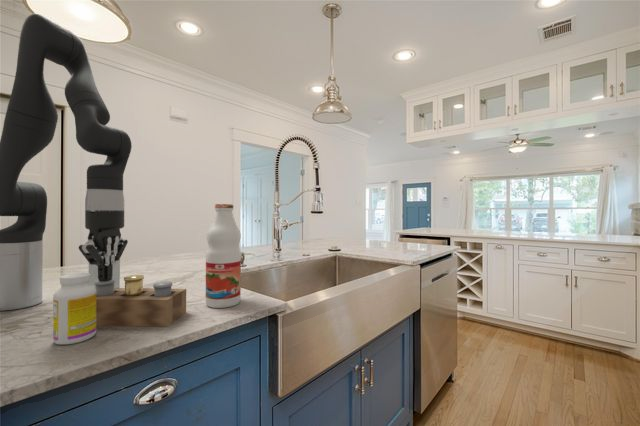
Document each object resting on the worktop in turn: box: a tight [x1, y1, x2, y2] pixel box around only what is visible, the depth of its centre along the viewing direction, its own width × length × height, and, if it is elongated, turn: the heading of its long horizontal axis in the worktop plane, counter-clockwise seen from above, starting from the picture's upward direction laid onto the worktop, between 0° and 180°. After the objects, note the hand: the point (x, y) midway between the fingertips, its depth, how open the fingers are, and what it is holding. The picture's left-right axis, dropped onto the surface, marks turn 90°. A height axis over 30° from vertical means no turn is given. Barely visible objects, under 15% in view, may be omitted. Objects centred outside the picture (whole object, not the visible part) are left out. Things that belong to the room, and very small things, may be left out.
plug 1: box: [94, 279, 115, 296], centre depth 68 cm, size 4×4×7 cm
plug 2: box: [152, 281, 173, 297], centre depth 68 cm, size 4×4×7 cm
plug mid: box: [123, 274, 145, 296], centre depth 68 cm, size 4×4×7 cm
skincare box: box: [88, 258, 121, 288], centre depth 79 cm, size 6×4×12 cm
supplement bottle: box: [52, 272, 97, 346], centre depth 57 cm, size 7×7×13 cm
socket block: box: [96, 287, 187, 327], centre depth 68 cm, size 21×9×6 cm, turn 90°
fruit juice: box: [205, 203, 242, 309], centre depth 80 cm, size 9×9×28 cm
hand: (105, 280), depth 68 cm, fingers closed
